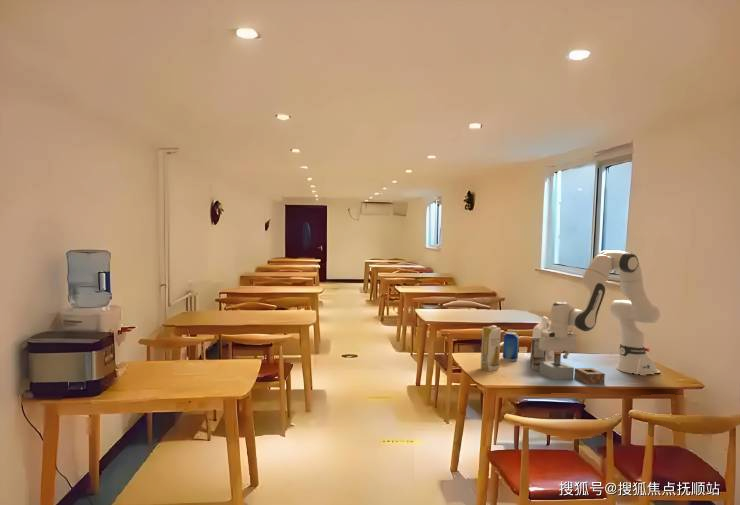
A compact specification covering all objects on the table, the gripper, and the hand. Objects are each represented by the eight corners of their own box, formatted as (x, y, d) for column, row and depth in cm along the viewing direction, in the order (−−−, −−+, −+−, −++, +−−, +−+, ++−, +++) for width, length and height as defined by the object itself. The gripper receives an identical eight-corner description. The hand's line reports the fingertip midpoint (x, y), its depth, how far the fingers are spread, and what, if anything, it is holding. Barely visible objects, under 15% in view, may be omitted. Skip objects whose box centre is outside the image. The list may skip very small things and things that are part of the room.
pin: (557, 374, 249) (558, 350, 249) (561, 376, 246) (563, 352, 245) (551, 374, 249) (552, 350, 248) (555, 376, 245) (556, 352, 244)
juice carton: (490, 372, 249) (492, 327, 248) (478, 368, 255) (480, 324, 254) (500, 369, 255) (503, 325, 254) (488, 365, 261) (491, 323, 260)
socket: (559, 372, 254) (560, 361, 254) (573, 379, 243) (573, 367, 242) (539, 372, 252) (540, 361, 252) (552, 379, 240) (552, 368, 240)
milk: (530, 357, 282) (532, 315, 281) (549, 358, 281) (552, 316, 280) (536, 363, 270) (539, 318, 269) (556, 364, 269) (559, 319, 268)
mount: (591, 377, 247) (591, 367, 247) (604, 383, 237) (604, 373, 237) (574, 377, 245) (574, 368, 245) (586, 384, 235) (587, 374, 235)
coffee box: (544, 371, 254) (546, 342, 254) (532, 370, 256) (534, 341, 255) (542, 366, 263) (543, 338, 263) (530, 365, 265) (531, 337, 264)
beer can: (519, 359, 277) (520, 332, 276) (515, 362, 270) (516, 335, 269) (504, 357, 281) (506, 330, 281) (500, 359, 274) (502, 332, 274)
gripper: (572, 331, 251) (571, 356, 252) (537, 331, 247) (536, 357, 248) (580, 333, 245) (578, 360, 246) (544, 334, 241) (543, 360, 242)
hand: (557, 358), depth 247 cm, fingers open, 8 cm apart
